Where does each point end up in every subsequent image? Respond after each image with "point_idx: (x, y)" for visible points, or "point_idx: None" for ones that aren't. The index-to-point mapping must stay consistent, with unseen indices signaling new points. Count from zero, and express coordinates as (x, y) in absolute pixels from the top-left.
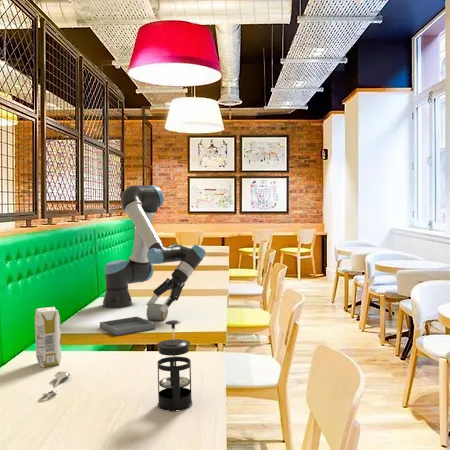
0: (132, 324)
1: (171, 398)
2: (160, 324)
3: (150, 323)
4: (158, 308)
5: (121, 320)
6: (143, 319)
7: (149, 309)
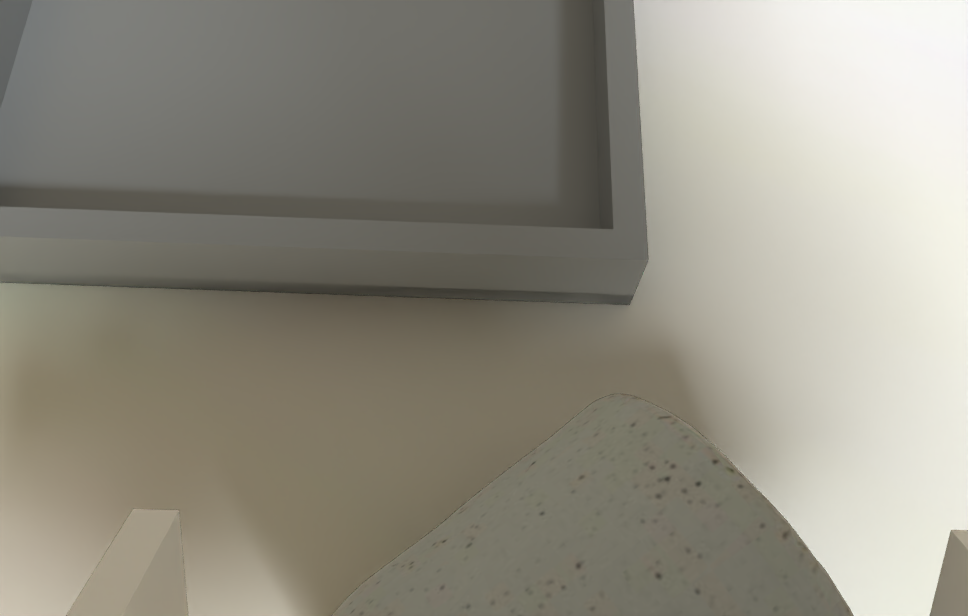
0: (417, 121)
1: None
2: None
3: (28, 217)
4: (392, 596)
5: (602, 12)
6: (328, 228)
7: (570, 433)
